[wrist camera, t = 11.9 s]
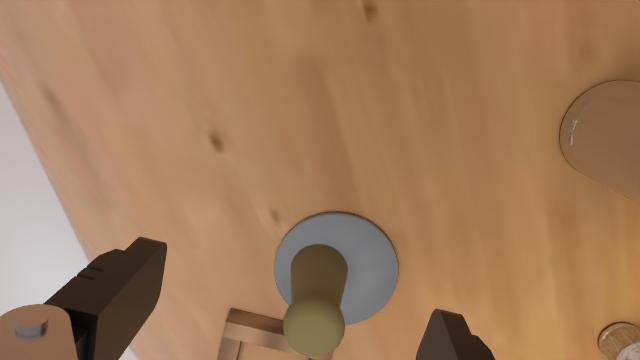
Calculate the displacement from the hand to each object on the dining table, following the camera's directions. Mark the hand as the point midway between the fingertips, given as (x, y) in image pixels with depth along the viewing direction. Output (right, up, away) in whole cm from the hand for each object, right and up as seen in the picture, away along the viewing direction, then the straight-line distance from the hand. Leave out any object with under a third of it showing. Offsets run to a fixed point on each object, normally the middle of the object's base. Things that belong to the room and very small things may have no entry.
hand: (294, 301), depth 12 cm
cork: (+1, -6, +32) cm, 33 cm away
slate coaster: (+2, -6, +33) cm, 34 cm away
